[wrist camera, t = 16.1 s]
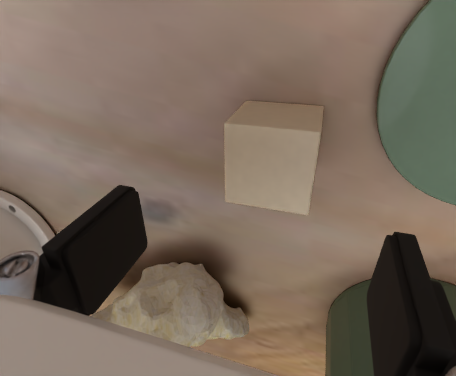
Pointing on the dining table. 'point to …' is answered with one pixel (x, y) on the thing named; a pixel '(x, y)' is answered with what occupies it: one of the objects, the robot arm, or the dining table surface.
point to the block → (272, 155)
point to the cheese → (177, 306)
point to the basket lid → (423, 102)
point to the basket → (356, 331)
